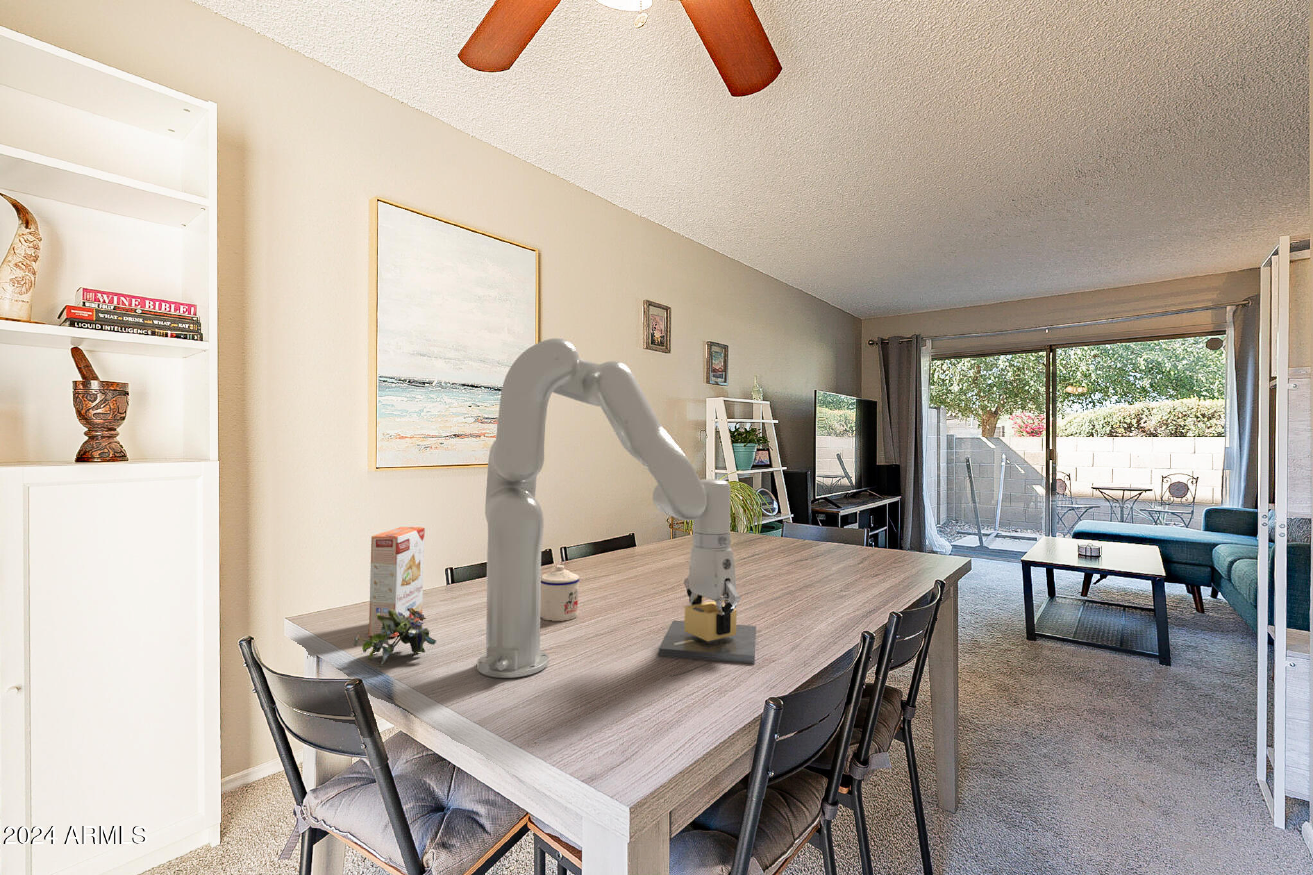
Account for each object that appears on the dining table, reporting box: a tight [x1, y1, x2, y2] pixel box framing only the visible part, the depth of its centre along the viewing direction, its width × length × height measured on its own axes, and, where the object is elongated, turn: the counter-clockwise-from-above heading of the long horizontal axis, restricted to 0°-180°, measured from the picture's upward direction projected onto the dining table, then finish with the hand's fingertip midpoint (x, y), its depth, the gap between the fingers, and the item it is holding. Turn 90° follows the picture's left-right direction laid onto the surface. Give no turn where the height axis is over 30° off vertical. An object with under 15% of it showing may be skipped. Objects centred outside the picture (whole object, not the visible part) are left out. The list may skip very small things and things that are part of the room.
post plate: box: [658, 620, 757, 665], centre depth 121 cm, size 18×18×6 cm
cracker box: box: [368, 526, 426, 638], centre depth 129 cm, size 14×6×21 cm, turn 179°
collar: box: [684, 600, 738, 641], centre depth 121 cm, size 7×7×5 cm
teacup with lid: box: [540, 564, 580, 622], centre depth 141 cm, size 12×9×12 cm
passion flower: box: [353, 608, 437, 666], centre depth 111 cm, size 11×11×12 cm
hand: (710, 627), depth 121 cm, fingers closed on collar, 7 cm apart
